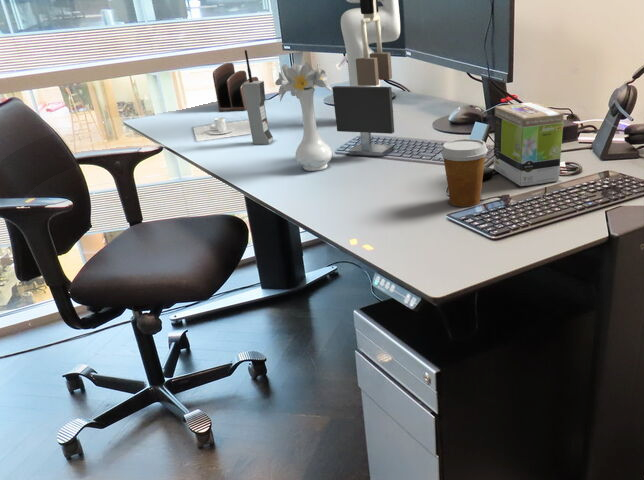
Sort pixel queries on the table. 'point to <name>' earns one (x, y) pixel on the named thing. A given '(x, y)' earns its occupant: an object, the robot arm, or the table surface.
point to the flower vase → (307, 112)
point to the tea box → (528, 143)
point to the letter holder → (230, 87)
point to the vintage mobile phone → (256, 109)
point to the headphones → (373, 56)
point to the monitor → (364, 116)
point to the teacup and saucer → (222, 129)
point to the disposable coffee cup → (464, 170)
